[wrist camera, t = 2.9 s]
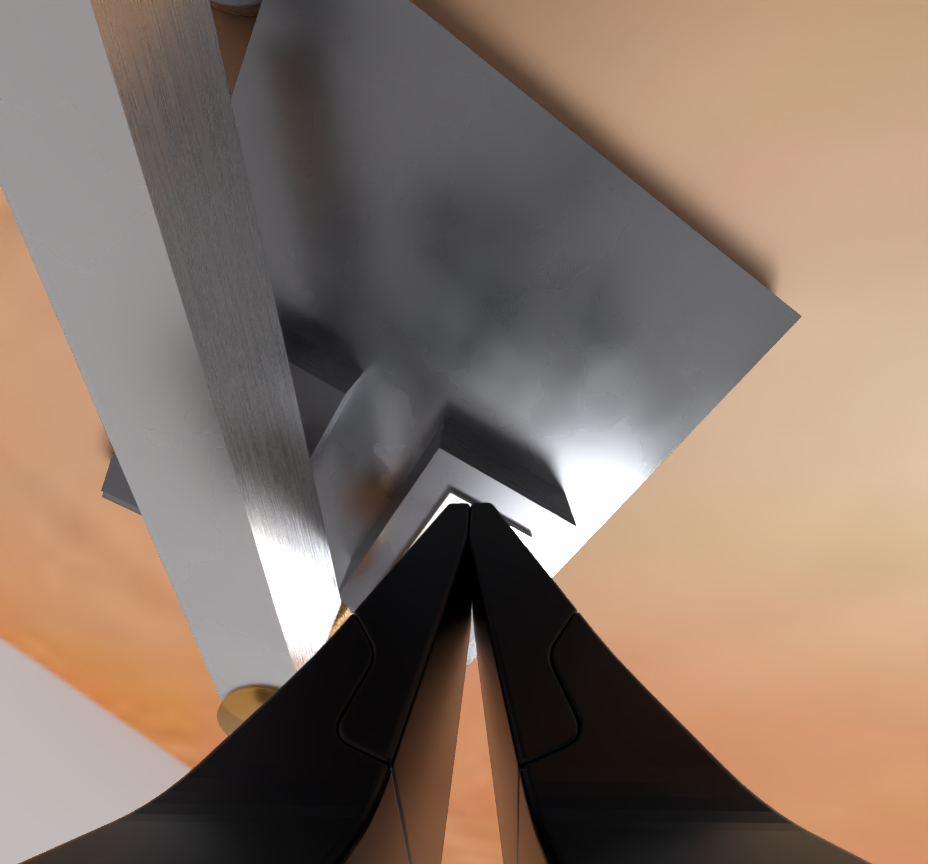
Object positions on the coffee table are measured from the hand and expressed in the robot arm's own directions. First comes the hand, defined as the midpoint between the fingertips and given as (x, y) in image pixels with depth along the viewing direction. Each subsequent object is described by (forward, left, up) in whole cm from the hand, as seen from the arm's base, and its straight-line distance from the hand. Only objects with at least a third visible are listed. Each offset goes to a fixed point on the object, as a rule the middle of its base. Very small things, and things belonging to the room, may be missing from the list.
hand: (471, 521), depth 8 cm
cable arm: (+1, -5, -3) cm, 6 cm away
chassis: (+1, -2, -7) cm, 7 cm away
